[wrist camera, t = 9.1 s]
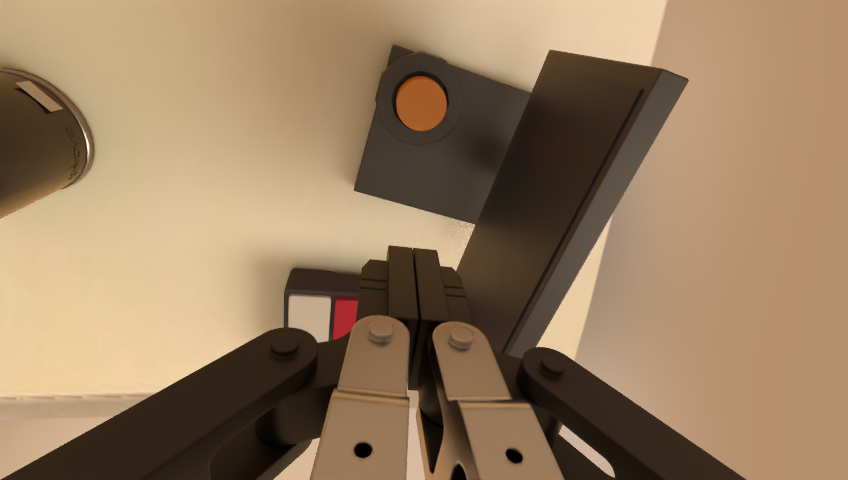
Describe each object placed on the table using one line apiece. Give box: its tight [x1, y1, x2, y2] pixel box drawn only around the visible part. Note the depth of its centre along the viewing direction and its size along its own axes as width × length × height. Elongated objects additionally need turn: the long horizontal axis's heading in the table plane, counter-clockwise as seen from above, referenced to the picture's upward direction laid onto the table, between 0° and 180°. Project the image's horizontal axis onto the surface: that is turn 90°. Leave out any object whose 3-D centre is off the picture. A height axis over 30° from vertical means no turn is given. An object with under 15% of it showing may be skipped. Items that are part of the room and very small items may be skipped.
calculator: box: [284, 269, 408, 382], centre depth 42 cm, size 11×4×15 cm
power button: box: [396, 76, 447, 131], centre depth 30 cm, size 4×4×2 cm
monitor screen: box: [456, 50, 689, 359], centre depth 24 cm, size 2×18×12 cm, turn 161°
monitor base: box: [354, 44, 531, 224], centre depth 34 cm, size 15×12×3 cm
